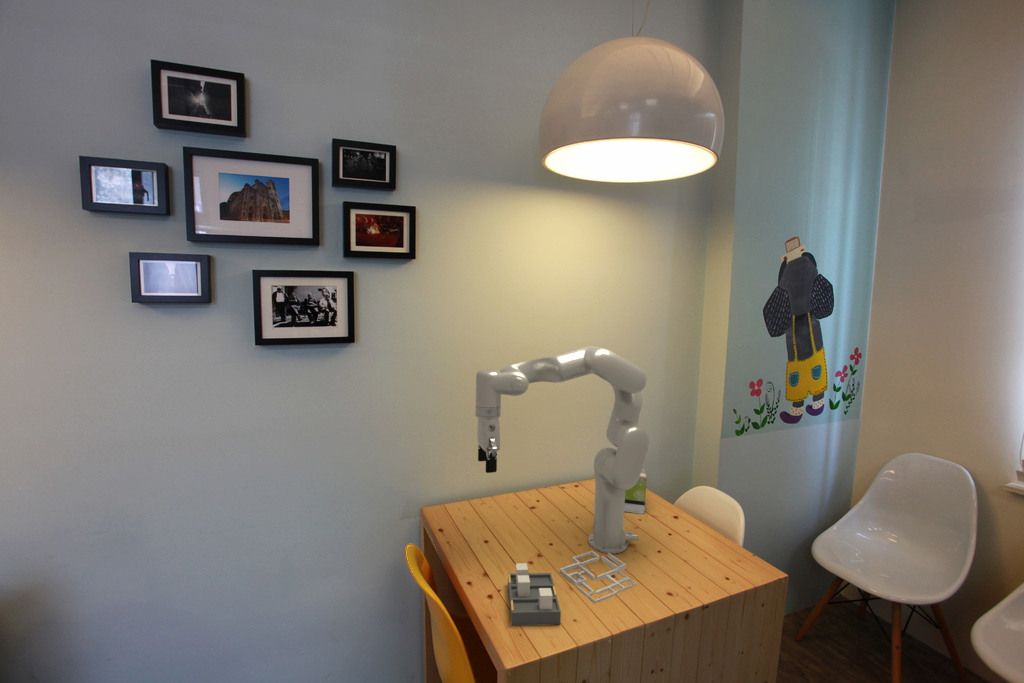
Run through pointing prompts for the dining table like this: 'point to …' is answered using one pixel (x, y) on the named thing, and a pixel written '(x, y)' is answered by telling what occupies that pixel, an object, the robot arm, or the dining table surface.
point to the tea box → (636, 496)
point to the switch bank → (533, 601)
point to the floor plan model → (582, 580)
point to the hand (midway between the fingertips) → (487, 466)
